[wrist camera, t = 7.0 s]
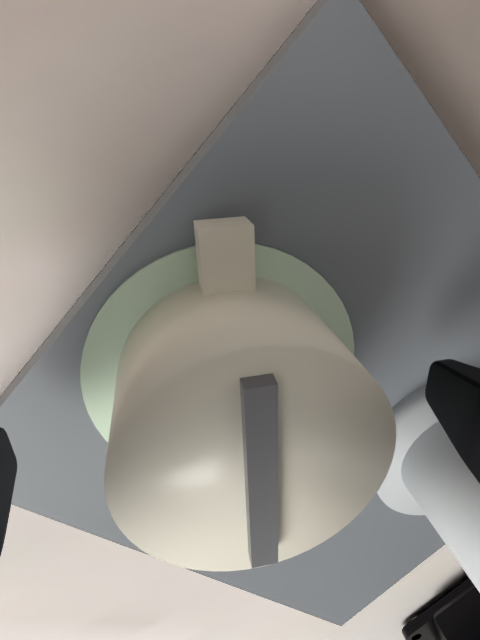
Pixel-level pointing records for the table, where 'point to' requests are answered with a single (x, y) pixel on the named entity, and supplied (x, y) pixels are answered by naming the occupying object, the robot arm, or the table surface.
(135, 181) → the table surface
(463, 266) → the post board
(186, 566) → the cream rounded dome
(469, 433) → the robot arm
